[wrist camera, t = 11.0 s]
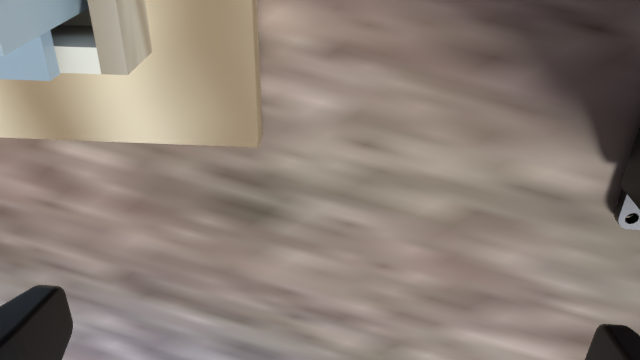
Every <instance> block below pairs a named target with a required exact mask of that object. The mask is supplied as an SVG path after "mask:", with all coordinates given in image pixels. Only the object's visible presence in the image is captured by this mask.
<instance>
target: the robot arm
mask: <svg viewBox="0 0 640 360" xmlns="http://www.w3.org/2000/svg"><path fill="white" fill-rule="evenodd" d="M621 187H622V192H621V195H620V198H619V201H618V204H617V207H616V209H615V213H614V217H615V219H616V221H617V222H618V224H619V225H620V226H621V227H622V228H625V229H634V230H640V128H639V130H638V133H637V136H636V139H635V142H634V145H633V148H632V151H631V154H630V157H629V160H628V163H627V166H626V169H625V172H624V175H623V178H622V181H621ZM631 213H634V214H633V216H631V217H630V218H626V216H627V215H629V214H631ZM72 329H73V321H72V317H71V313H70V309H69V306H68V302H67V298H66V294H65V292H64V290H63V289H62V288H61V287H59V286H50V285H37V286H34V287H32V288H31V289H29V290H27V291H26V292H24V293H22V294H21V295H19V296H17V297H15V298H14V299H12V300H10V301H9V302H7V303H5V304H4V305H2V306H0V360H62V358H63V355H64V353H65V350H66V348H67V345H68V342H69V340H70V337H71V334H72ZM585 360H640V336H639V335H638V334H637V333H636V332H634V331H633V330H632V329H630V328H629V327H627V326H624V325H612V324H602V325H600V326H599V327H598V328H597V330H596V332H595V334H594V337H593V340H592V342H591V345H590V347H589V350H588V353H587V355H586V358H585Z"/></svg>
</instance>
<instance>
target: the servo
mask: <svg viewBox="0 0 640 360" xmlns="http://www.w3.org/2000/svg"><path fill="white" fill-rule="evenodd" d="M88 8H89V6H88V1H87V0H0V79H9V80H37V81H51V80H53V79H54V78H55V77H57V76H58V75H60V70H59V66H58V61H57V57H56V53H55V48H54V44H53V39H52V35H51V31H50V30H51V29H53V28H55V27H56V26H58V25H60V24H62V23H63V22H65V21H67V20H69V19H71V18H72V17H74V16H76V15H78V14H79V13H81V12H83V11H85V10H87V9H88Z"/></svg>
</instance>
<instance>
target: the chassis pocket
mask: <svg viewBox="0 0 640 360" xmlns="http://www.w3.org/2000/svg"><path fill="white" fill-rule="evenodd" d="M87 1H88V6H89V8H88V9H87V10H85V11H83V12H81V13H79V14H78V15H76V16H74V17H72V18H71V19H69V20H67V21H65V22H63V23H62V24H60V25H58V26H56V27H55V28H53V29H51V30H50V31H51V35H52V39H53V44H54V48H55V53H56V57H57V61H58V66H59V70H60V75H58V76H57V77H55V78H54V79H53V80H51V81H37V80H9V79H0V137H4V138H30V139H56V140H82V141H107V142H133V143H159V144H185V145H210V146H236V147H259V144H260V141H261V138H262V111H261V86H260V61H259V36H258V11H257V0H87Z"/></svg>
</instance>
